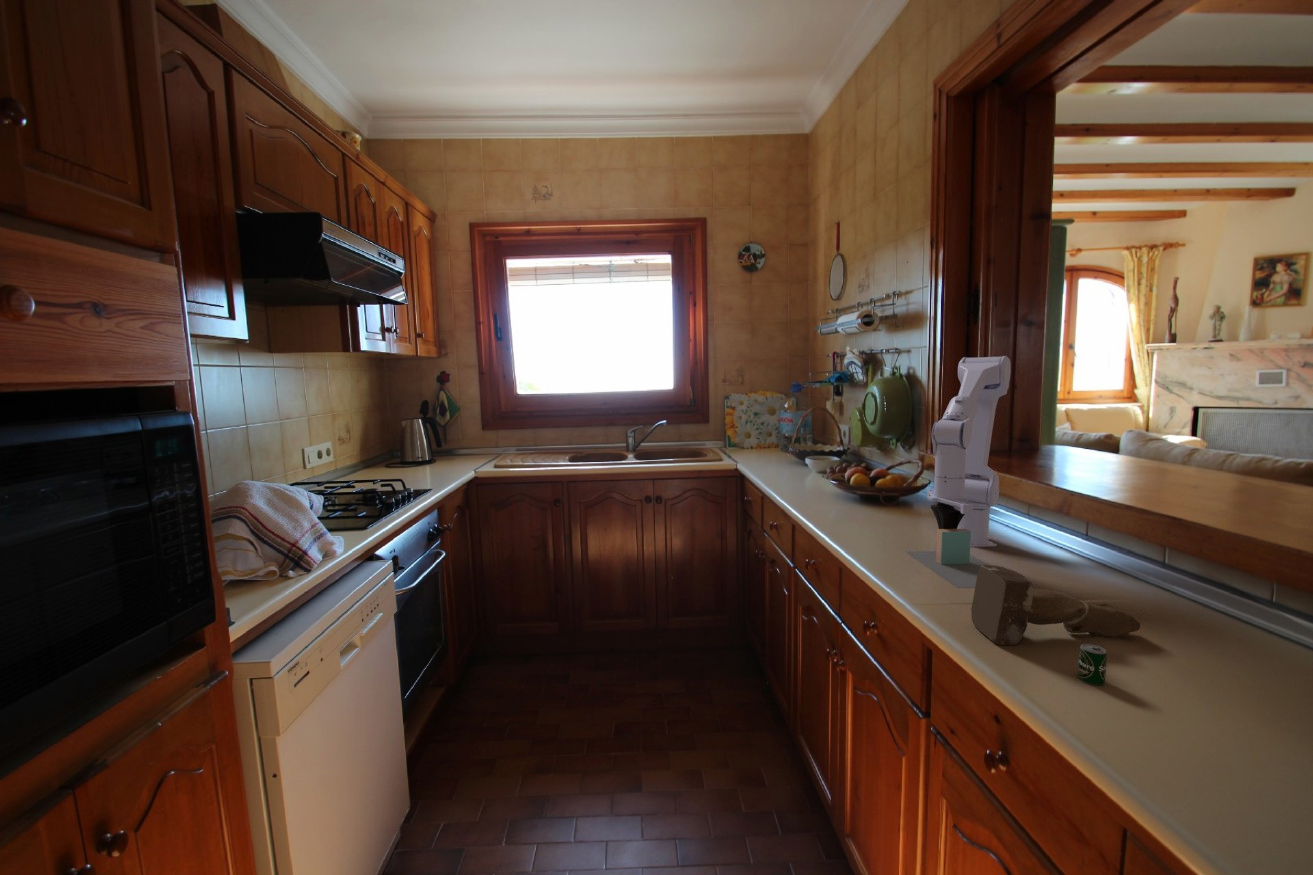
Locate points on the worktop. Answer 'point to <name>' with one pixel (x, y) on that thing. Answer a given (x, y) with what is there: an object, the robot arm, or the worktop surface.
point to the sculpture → (1037, 609)
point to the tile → (953, 546)
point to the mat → (951, 569)
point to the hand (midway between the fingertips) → (947, 538)
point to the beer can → (1092, 664)
